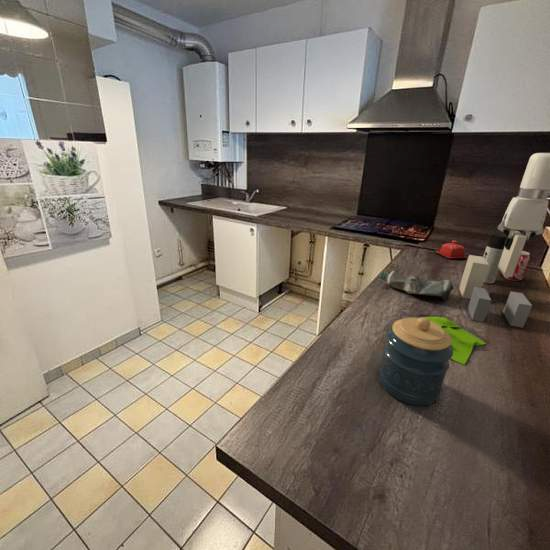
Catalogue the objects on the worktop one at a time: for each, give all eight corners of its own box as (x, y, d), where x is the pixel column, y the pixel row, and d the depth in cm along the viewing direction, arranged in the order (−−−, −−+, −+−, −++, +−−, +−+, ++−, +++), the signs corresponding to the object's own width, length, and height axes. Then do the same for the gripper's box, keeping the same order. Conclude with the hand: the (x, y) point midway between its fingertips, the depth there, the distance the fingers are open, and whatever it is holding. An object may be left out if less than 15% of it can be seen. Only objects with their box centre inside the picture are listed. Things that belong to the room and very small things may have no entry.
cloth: (445, 315, 95) (447, 309, 95) (507, 358, 76) (510, 351, 75) (389, 321, 91) (391, 315, 90) (440, 368, 72) (442, 361, 71)
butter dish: (433, 252, 156) (437, 237, 153) (453, 252, 158) (457, 237, 154) (447, 260, 146) (452, 244, 142) (468, 259, 147) (473, 243, 144)
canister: (453, 400, 63) (477, 330, 56) (403, 413, 59) (421, 341, 52) (411, 361, 74) (426, 300, 67) (367, 370, 71) (378, 307, 64)
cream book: (505, 268, 107) (518, 231, 101) (512, 277, 99) (527, 237, 94) (497, 267, 108) (510, 230, 102) (503, 275, 100) (518, 236, 94)
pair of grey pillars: (513, 316, 96) (522, 293, 93) (522, 330, 88) (532, 305, 85) (467, 307, 101) (474, 285, 98) (471, 320, 93) (479, 296, 90)
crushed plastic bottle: (451, 293, 111) (384, 276, 123) (456, 276, 107) (387, 261, 120) (447, 309, 101) (375, 289, 114) (452, 292, 98) (378, 273, 110)
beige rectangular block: (473, 290, 114) (483, 256, 108) (477, 300, 106) (489, 264, 101) (459, 288, 115) (468, 254, 110) (462, 297, 108) (473, 262, 102)
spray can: (483, 276, 127) (498, 232, 119) (498, 283, 121) (515, 236, 113) (472, 278, 125) (486, 233, 117) (487, 285, 119) (503, 237, 111)
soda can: (524, 279, 125) (534, 253, 120) (518, 283, 121) (528, 256, 116) (505, 274, 130) (514, 248, 125) (498, 277, 126) (507, 251, 122)
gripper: (559, 195, 93) (537, 249, 100) (499, 191, 99) (482, 243, 106) (570, 198, 87) (546, 256, 94) (505, 194, 93) (487, 249, 100)
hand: (512, 249), depth 100 cm, fingers closed on cream book, 2 cm apart
